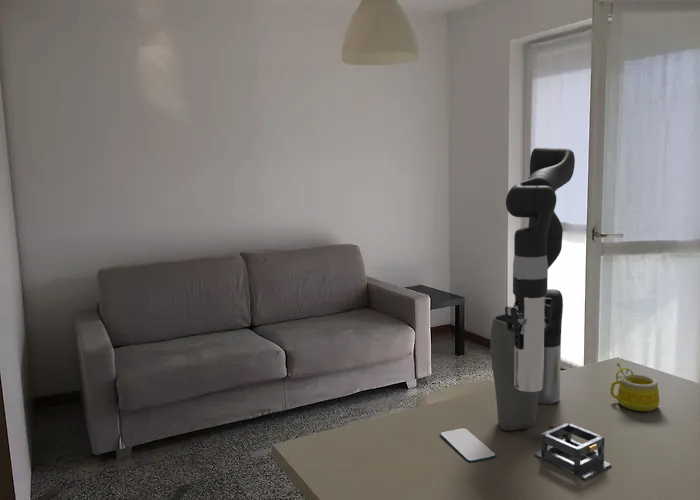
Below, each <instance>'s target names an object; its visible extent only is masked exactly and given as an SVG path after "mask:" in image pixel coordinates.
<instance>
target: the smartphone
mask: <svg viewBox="0 0 700 500" xmlns="http://www.w3.org/2000/svg"><path fill="white" fill-rule="evenodd" d="M439 436H440V437H441V438H442V439H443V440H444V441H445V442H446V443H447V444H448V445H449V446H450V447H451V448H453V450H454V451H456V453H458V454H459V455H460V456H461V458H463V459H464V460H465V461H466V462H468V463H475V462H479V461H484V460H491V459H494V458H496V457H497V454H496V453H495V452H494V451H493V450H492V449H491V448H489V447H488V445H486V444H485V443H484V442H483V441H482V440H481V439H479V438H478V437H477V436H476V435H475V434H473V433H472V432H471V431H470V430H469V429H468V428H465V427H460V428H455V429H451V430H445V431H442V432H440V433H439Z"/></svg>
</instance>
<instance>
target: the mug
mask: <svg viewBox="0 0 700 500" xmlns="http://www.w3.org/2000/svg"><path fill="white" fill-rule="evenodd" d="M616 366H618V368H619V370H618V371H616V374H615V381H614V382H612V383H611V386H610V389H609V390H610V395H611V397H612V398H614V399H616V400H617V401H618V403H619V405H621V406H623V408H626V409H629V410H631V411H637V412H651V411H654V410H656V409H658V407H659V405H660V392H659V387H658V386H659V382H658V381H657V380H656V379H655V378H653V377H650V376H648V375H644V374H638V373H636V374H635V373H634V372H633V370H632V369H630V368H628V367H622V368H621V364H620V362H618V363H616ZM624 370H626V371H625V373H624V372H623V371H624ZM629 371H630V374H628V373H629ZM620 373H621V374H622V376H621V375H620V376H619V374H620ZM615 385H618V389H617V394H614V388H615Z"/></svg>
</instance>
